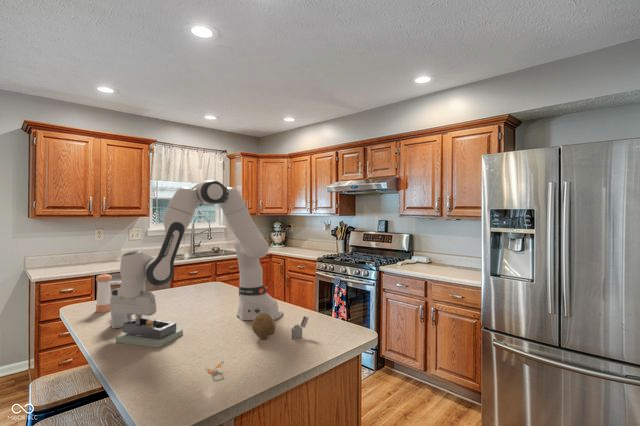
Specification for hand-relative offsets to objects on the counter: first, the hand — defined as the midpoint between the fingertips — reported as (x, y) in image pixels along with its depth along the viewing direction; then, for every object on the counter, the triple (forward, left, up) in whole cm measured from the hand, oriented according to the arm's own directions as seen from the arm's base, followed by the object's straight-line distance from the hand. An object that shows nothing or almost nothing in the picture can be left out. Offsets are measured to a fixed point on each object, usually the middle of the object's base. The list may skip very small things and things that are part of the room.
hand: (133, 324), depth 141 cm
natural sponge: (-52, -12, -5) cm, 54 cm away
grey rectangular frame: (-8, 0, -2) cm, 8 cm away
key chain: (-50, +17, -6) cm, 53 cm away
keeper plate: (-8, 0, -5) cm, 10 cm away
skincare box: (+17, -9, -5) cm, 20 cm away
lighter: (-66, -17, -5) cm, 69 cm away
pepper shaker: (+43, -25, -5) cm, 50 cm away
